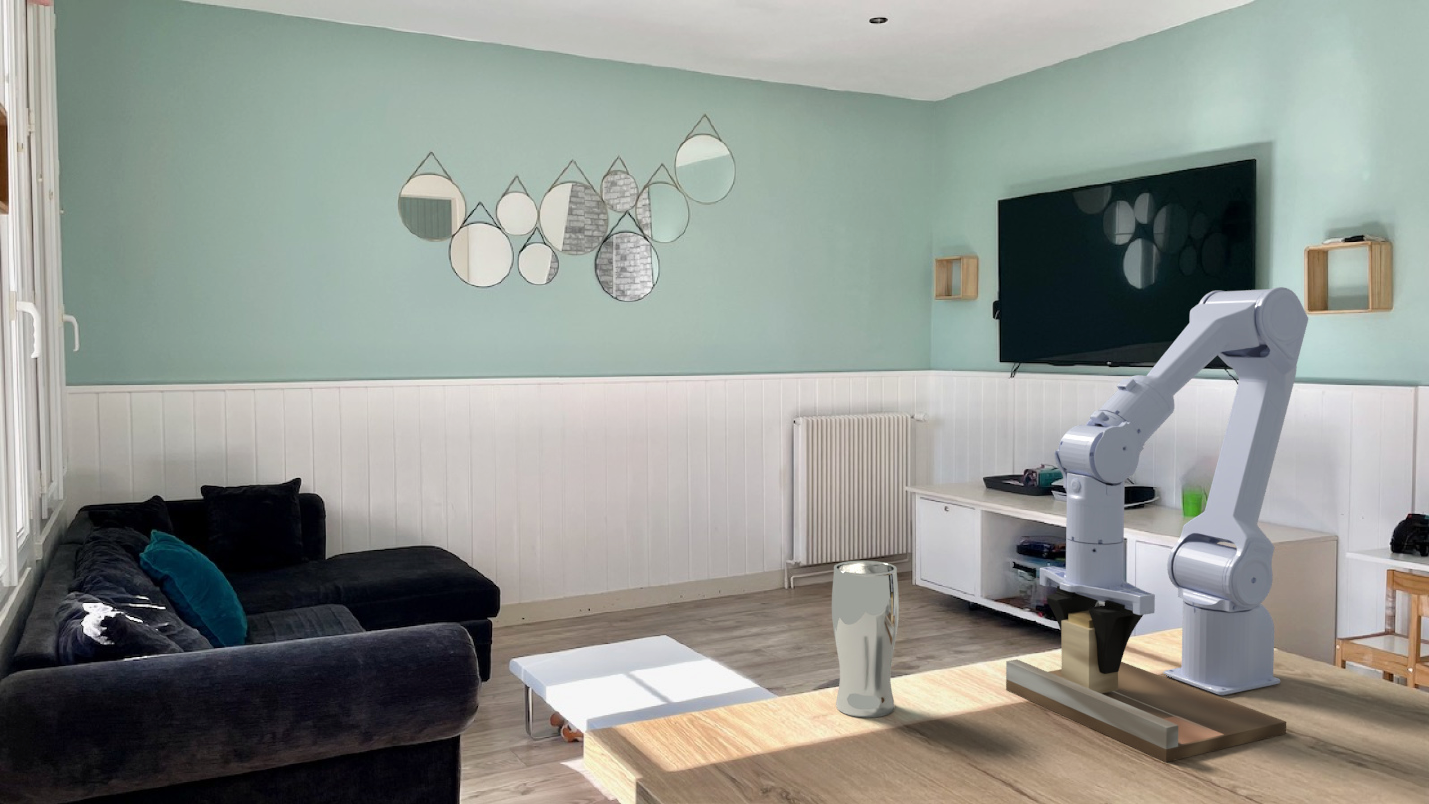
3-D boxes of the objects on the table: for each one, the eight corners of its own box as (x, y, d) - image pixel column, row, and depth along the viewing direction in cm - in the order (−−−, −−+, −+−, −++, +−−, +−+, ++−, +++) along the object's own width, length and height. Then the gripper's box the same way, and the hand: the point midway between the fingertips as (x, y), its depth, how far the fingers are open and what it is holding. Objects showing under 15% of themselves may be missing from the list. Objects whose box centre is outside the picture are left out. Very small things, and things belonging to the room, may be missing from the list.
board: (1115, 669, 123) (1115, 642, 123) (1286, 733, 103) (1286, 701, 103) (1006, 689, 117) (1006, 661, 117) (1165, 762, 97) (1166, 727, 97)
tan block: (1090, 678, 115) (1090, 608, 115) (1118, 690, 112) (1118, 617, 111) (1061, 684, 114) (1061, 613, 113) (1088, 696, 110) (1088, 622, 109)
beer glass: (896, 697, 115) (896, 560, 114) (901, 720, 108) (901, 575, 107) (831, 695, 115) (831, 559, 114) (832, 718, 108) (832, 574, 108)
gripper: (1018, 531, 117) (1017, 652, 118) (1118, 555, 103) (1116, 691, 104) (1068, 525, 120) (1066, 644, 120) (1171, 549, 106) (1168, 681, 107)
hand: (1092, 665), depth 113 cm, fingers closed on tan block, 4 cm apart
